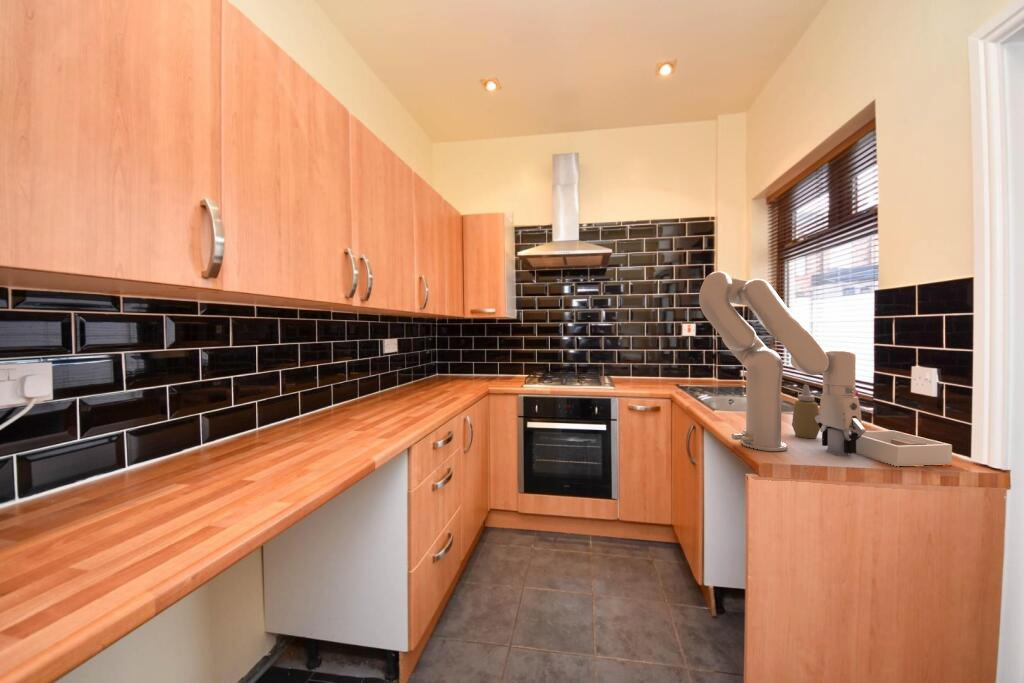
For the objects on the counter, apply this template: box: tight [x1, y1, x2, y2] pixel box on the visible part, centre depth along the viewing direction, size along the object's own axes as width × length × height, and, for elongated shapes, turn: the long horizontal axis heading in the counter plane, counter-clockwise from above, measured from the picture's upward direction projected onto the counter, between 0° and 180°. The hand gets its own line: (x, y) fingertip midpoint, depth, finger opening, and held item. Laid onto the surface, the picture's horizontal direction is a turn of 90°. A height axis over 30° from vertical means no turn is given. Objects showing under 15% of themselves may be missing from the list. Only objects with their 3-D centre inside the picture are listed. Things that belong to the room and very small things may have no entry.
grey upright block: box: [827, 428, 850, 457], centre depth 118 cm, size 5×5×7 cm
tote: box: [849, 429, 953, 468], centre depth 113 cm, size 16×16×6 cm
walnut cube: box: [891, 439, 927, 446], centre depth 110 cm, size 5×5×5 cm
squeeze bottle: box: [791, 384, 820, 439], centre depth 136 cm, size 8×8×18 cm
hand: (838, 448), depth 118 cm, fingers open, 6 cm apart
